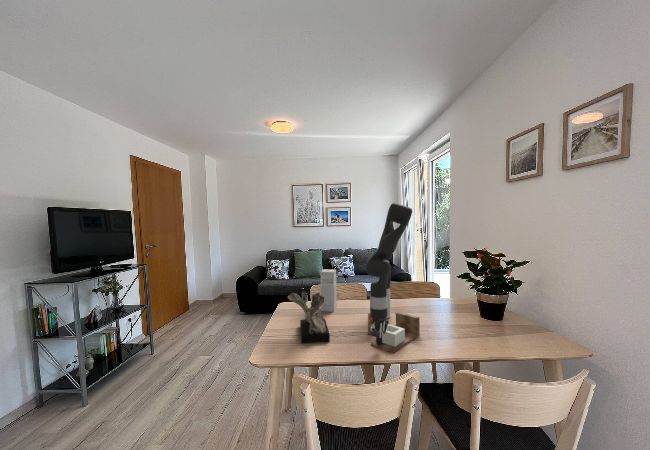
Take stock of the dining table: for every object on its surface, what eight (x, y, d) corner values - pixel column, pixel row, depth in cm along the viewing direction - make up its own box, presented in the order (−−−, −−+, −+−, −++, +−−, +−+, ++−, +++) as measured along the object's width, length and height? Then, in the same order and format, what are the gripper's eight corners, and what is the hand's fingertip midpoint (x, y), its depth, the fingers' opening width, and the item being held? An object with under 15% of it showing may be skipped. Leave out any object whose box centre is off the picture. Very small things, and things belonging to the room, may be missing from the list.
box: (336, 307, 186) (336, 269, 185) (334, 311, 177) (333, 272, 177) (324, 306, 187) (323, 269, 187) (321, 310, 179) (320, 271, 178)
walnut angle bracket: (370, 345, 131) (370, 325, 131) (397, 328, 149) (397, 311, 149) (393, 353, 123) (393, 332, 122) (419, 335, 141) (419, 317, 140)
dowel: (366, 333, 144) (366, 313, 144) (371, 330, 147) (370, 311, 147) (373, 335, 141) (372, 315, 141) (377, 333, 144) (377, 313, 144)
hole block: (377, 341, 132) (377, 329, 132) (388, 334, 139) (387, 323, 139) (395, 346, 126) (394, 334, 126) (404, 340, 133) (404, 328, 133)
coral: (330, 345, 132) (329, 299, 131) (286, 347, 130) (285, 301, 129) (326, 324, 156) (325, 286, 156) (289, 326, 155) (288, 287, 154)
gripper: (379, 300, 132) (380, 337, 132) (362, 307, 122) (363, 347, 122) (394, 304, 126) (394, 342, 127) (377, 311, 117) (378, 353, 117)
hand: (379, 344), depth 125 cm, fingers closed
